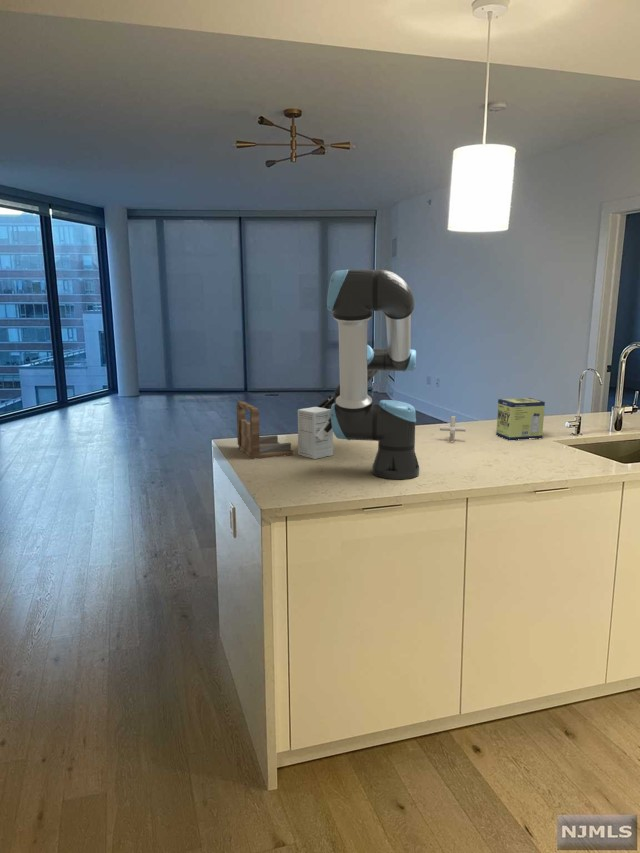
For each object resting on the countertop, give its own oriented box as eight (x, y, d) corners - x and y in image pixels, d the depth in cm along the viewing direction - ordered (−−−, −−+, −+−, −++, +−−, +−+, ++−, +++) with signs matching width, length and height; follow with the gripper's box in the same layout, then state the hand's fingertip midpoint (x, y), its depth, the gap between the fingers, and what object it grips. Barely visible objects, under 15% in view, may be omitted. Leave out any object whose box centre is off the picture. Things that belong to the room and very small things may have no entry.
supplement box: (333, 455, 217) (334, 409, 213) (314, 459, 211) (314, 412, 207) (316, 450, 224) (316, 406, 220) (297, 454, 218) (297, 408, 214)
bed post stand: (293, 455, 217) (292, 406, 213) (252, 459, 210) (252, 408, 207) (275, 444, 233) (275, 398, 229) (237, 448, 226) (236, 401, 223)
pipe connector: (465, 444, 234) (466, 419, 232) (439, 443, 236) (440, 418, 234) (464, 439, 244) (465, 414, 241) (439, 437, 245) (440, 413, 243)
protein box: (495, 435, 251) (497, 398, 247) (527, 433, 255) (530, 397, 251) (509, 441, 241) (511, 402, 238) (542, 439, 245) (545, 401, 242)
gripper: (371, 402, 209) (332, 448, 205) (339, 392, 231) (303, 433, 228) (358, 387, 205) (318, 434, 202) (327, 379, 227) (290, 421, 224)
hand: (310, 434), depth 215 cm, fingers open, 13 cm apart
